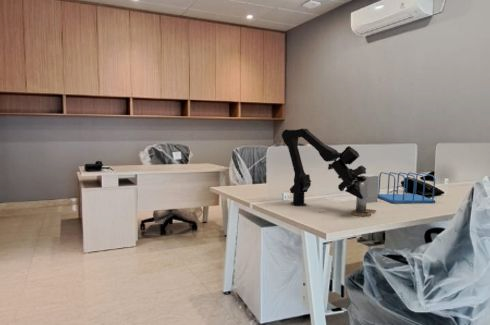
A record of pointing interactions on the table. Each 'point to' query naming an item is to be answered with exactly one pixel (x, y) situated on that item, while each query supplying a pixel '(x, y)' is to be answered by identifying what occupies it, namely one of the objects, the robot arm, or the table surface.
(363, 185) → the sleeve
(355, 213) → the hub seat
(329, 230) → the table surface
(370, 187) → the skincare box
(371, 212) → the stand pad
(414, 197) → the file sorter
